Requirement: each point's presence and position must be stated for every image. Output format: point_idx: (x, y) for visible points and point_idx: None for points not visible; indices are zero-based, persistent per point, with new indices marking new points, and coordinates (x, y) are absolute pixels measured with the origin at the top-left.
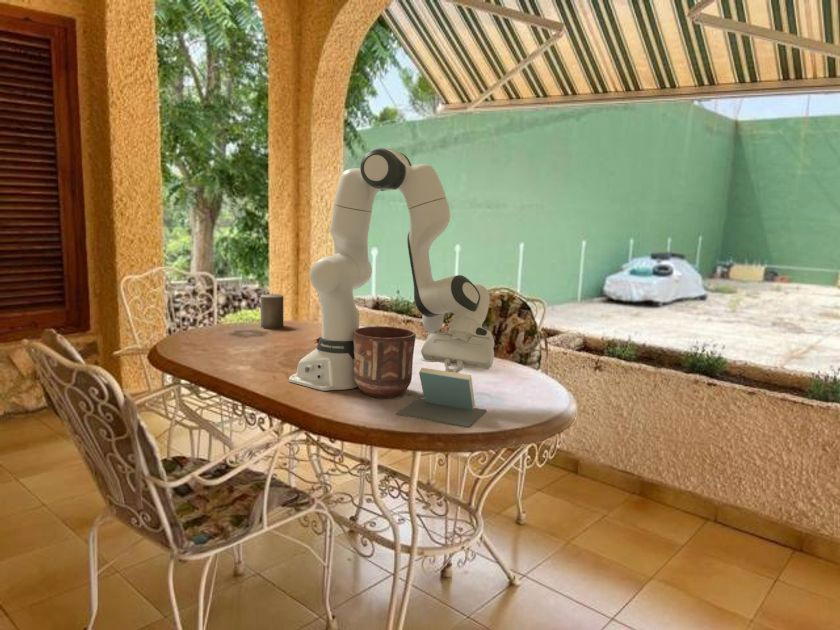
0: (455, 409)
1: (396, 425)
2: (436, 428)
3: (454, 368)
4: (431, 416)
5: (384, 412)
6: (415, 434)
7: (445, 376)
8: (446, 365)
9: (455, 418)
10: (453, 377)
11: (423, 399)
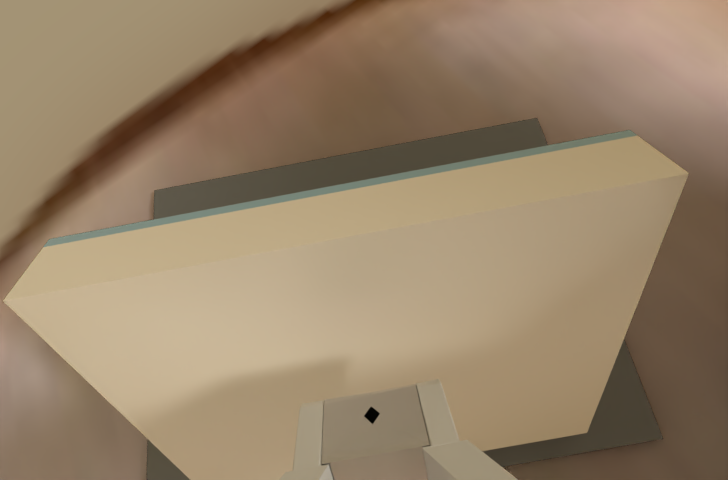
0: None
1: (431, 33)
2: (278, 105)
3: (322, 477)
4: None
5: (596, 110)
6: (314, 14)
7: (312, 192)
8: (478, 473)
9: None
10: (220, 210)
11: (612, 432)
